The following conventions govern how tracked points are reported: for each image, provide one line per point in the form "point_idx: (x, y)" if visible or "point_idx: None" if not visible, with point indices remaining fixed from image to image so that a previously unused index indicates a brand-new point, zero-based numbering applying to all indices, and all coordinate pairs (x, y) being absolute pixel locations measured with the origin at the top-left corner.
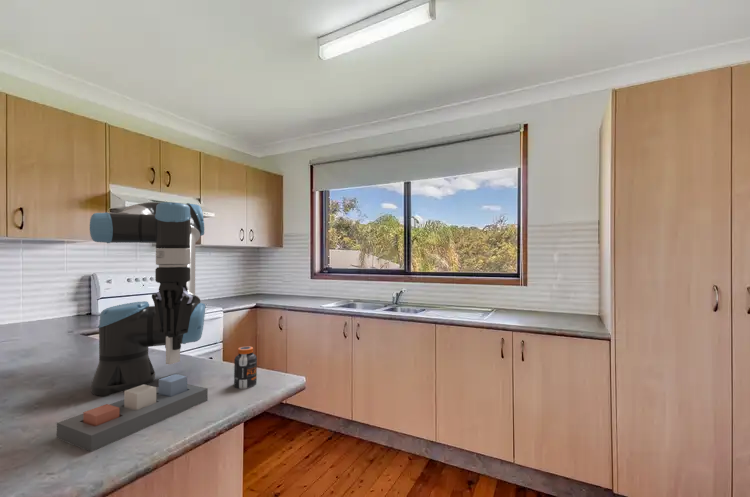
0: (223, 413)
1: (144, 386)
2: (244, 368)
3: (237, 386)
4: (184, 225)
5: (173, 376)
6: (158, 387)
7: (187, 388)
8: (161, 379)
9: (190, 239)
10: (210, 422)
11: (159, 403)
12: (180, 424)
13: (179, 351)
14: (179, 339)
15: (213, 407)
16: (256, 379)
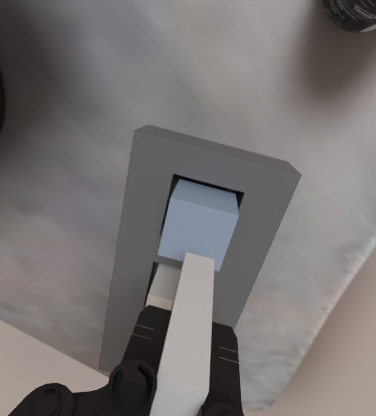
0: (364, 206)
1: (164, 306)
2: None
3: (357, 27)
4: None
5: (185, 222)
6: (127, 193)
7: (228, 186)
8: (166, 253)
9: None
10: (350, 253)
11: (224, 288)
12: (281, 268)
13: (211, 295)
14: (236, 397)
15: (316, 176)
16: None
